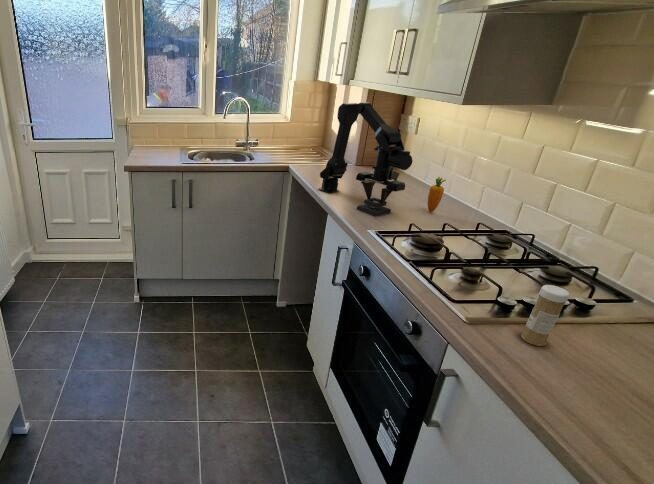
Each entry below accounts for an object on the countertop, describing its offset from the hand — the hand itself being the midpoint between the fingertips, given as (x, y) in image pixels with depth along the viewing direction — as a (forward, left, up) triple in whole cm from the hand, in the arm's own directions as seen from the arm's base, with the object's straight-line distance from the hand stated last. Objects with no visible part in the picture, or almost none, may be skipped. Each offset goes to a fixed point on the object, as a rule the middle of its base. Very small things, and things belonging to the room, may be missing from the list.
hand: (375, 201), depth 168 cm
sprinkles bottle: (+74, -39, -4) cm, 84 cm away
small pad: (0, 0, -1) cm, 1 cm away
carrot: (+12, +19, -4) cm, 23 cm away
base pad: (0, 0, -4) cm, 4 cm away
